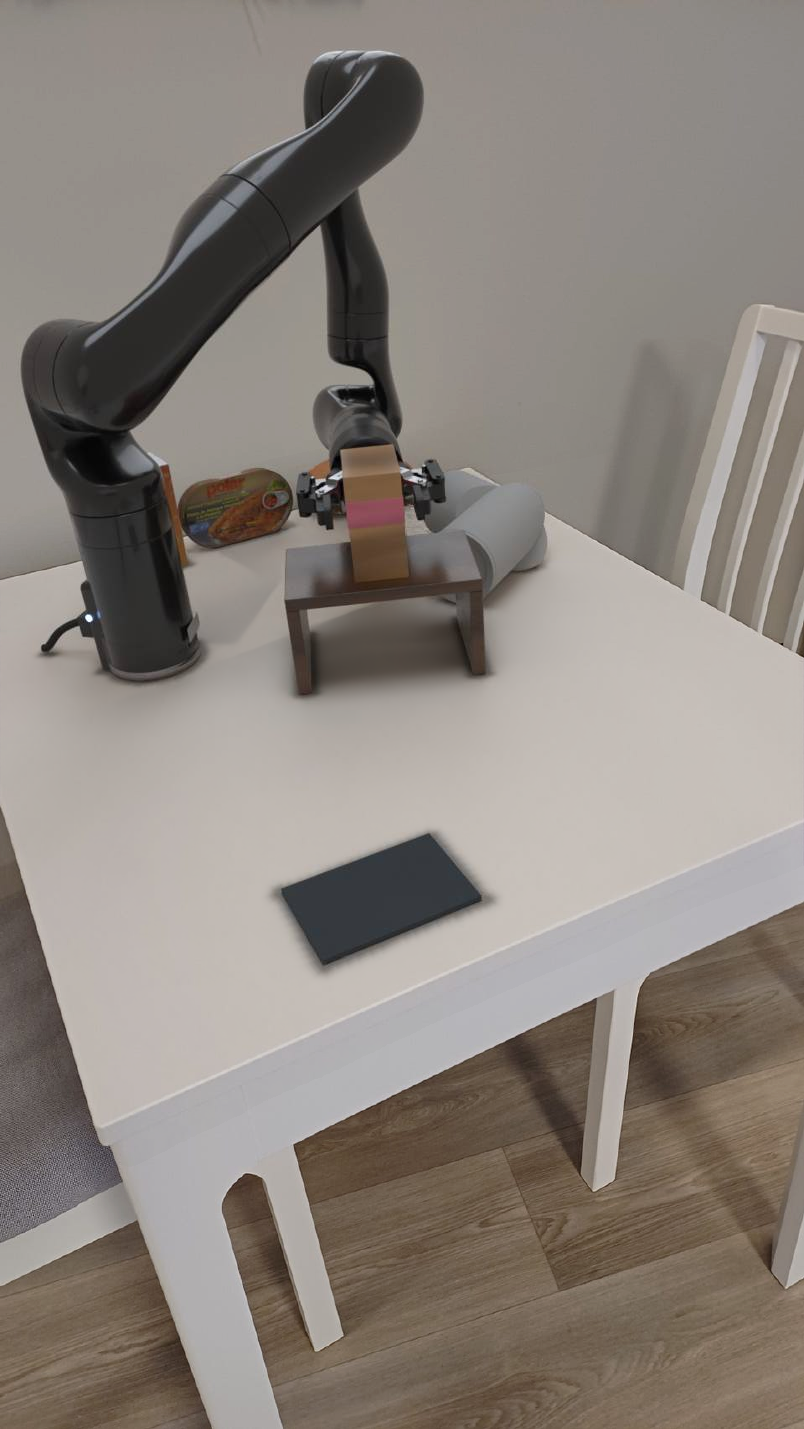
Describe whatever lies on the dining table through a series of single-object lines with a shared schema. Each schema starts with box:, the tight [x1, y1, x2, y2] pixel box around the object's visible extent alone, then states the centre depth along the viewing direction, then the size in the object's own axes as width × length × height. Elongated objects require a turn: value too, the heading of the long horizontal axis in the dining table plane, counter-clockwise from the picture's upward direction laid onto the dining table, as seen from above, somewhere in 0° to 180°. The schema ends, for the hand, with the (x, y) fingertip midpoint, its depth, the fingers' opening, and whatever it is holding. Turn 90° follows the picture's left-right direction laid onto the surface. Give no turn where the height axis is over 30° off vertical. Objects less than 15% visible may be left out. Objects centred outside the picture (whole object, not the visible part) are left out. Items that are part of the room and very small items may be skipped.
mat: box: [280, 832, 483, 965], centre depth 70 cm, size 12×8×1 cm, turn 116°
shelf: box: [283, 530, 487, 695], centre depth 97 cm, size 12×18×10 cm, turn 95°
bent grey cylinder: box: [423, 469, 548, 604], centre depth 113 cm, size 18×11×20 cm
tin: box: [177, 467, 294, 549], centre depth 127 cm, size 15×3×8 cm, turn 117°
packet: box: [340, 444, 409, 583], centre depth 92 cm, size 8×5×10 cm, turn 5°
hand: (375, 515), depth 90 cm, fingers open, 8 cm apart
